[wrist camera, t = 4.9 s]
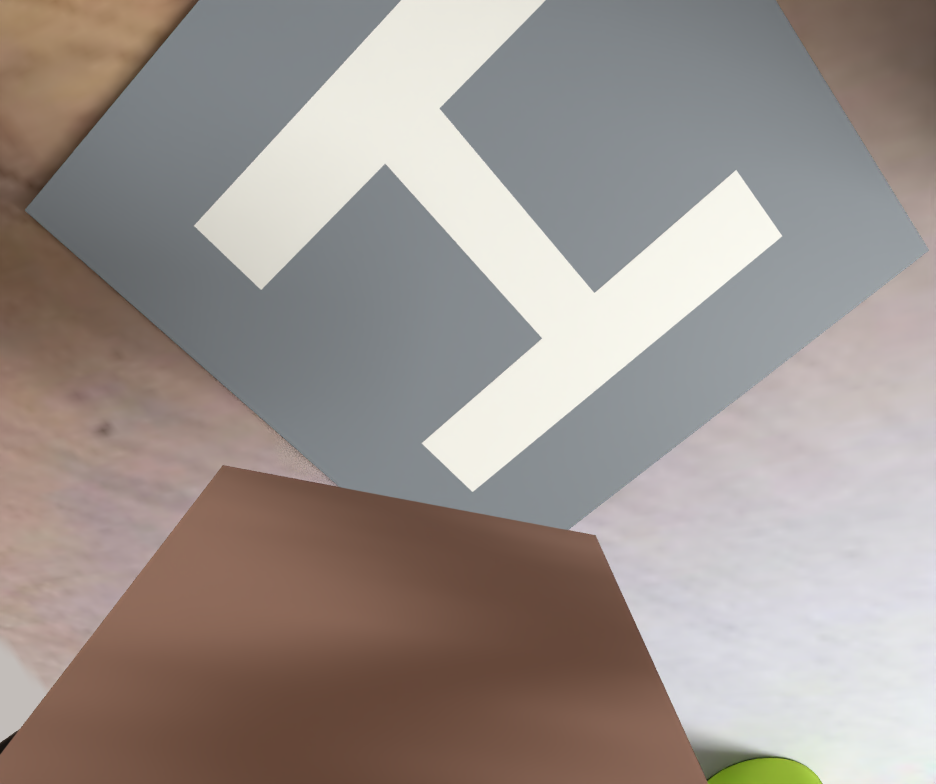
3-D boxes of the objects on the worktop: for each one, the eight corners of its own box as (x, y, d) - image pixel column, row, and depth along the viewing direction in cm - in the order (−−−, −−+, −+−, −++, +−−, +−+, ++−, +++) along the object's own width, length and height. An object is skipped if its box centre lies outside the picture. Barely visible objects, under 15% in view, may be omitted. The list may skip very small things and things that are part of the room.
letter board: (918, 248, 17) (929, 250, 17) (471, 596, 21) (472, 604, 21) (527, -382, 13) (530, -400, 12) (34, 209, 16) (24, 210, 16)
